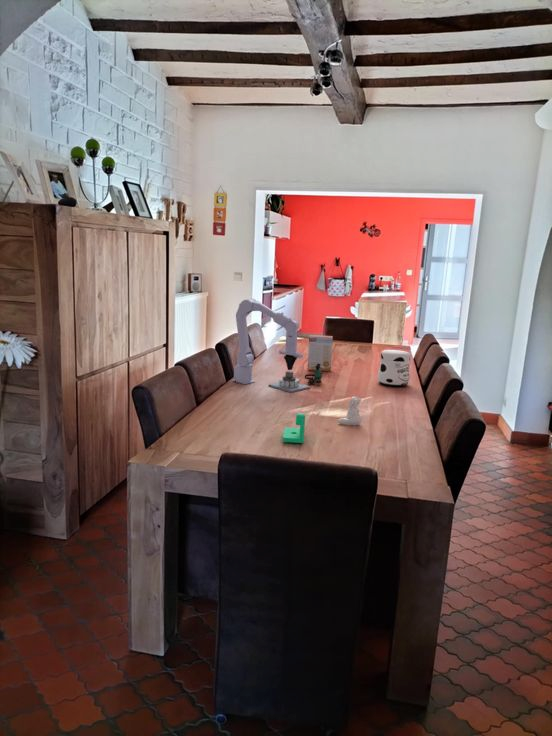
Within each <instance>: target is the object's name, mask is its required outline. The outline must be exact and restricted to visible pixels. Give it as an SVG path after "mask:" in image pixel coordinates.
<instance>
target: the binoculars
mask: <svg viewBox="0 0 552 736" xmlns="http://www.w3.org/2000/svg"><path fill="white" fill-rule="evenodd" d="M315 367H316V370H315V371H314V374H313V373H312V374H311V373H310V374H305V375H304V379H305V380H308V381H307V385H311V384H313V385H314V384H315V385H317V386H321V384H322V383H323V382H322V377H323V375H324V374H323V372H324V371H321V368H320V364H317V366H315ZM322 374H323V375H322Z"/></svg>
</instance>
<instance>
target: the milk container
mask: <svg viewBox="0 0 552 736" xmlns="http://www.w3.org/2000/svg"><path fill="white" fill-rule="evenodd" d="M410 360H411V353H410V352H409V351H405V350H400V349H383V350H381V353H380V364H379V369H378V371H377V380H378V382H379V383H381V384H383V385H386V386H390V387H405V386H406V385H409V382H410V379H411V375H410V364H411V361H410Z"/></svg>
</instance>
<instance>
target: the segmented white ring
mask: <svg viewBox="0 0 552 736" xmlns="http://www.w3.org/2000/svg"><path fill="white" fill-rule="evenodd" d="M295 378H296V377H295ZM278 382H279V385H280V386H281V387H285V388H296V387H298V386H299V384H300V379H299V378H296V380H295V381H285V380H283V377H280V378H279V380H278Z"/></svg>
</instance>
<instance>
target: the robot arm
mask: <svg viewBox="0 0 552 736" xmlns="http://www.w3.org/2000/svg"><path fill="white" fill-rule="evenodd" d="M252 312H260V313H262V314H264V315H266V316H268V317H270V318H272V320H273V322H274V323H276V324H277V325H279V327H282V328H283V329H285V331H286V334H285V347H284V348H285V349H280V350H278V354H279V355H284V356H283V359H284V361H285V363H286V368H287V371H292V370H293V368H294V365H295V362H296V360H297V359H303V355H304V354H303V353H300V352H297V348H298V329H300V328H299V327H300V324H299V322H298V320H297V319H293V318H292V317H288V316H287V315H285V313H284V312H280V311H278V312H276V311H275V310H273V309H271V308H270V307H268V306H267V305H265V304H264V303H262V302H261V301H258V300H256V299H255V298H249V299H248V298H247V299H244V300H242V301H241V302H240V303H239V304H238V309H237V311H236V313H235V320H236V321H235V323H236V327H237V337H238V338H237V339H238V346H239V349H238V351H237V358H236V361H237V364H236V365H235V366H234V369H233V379H232V381H233V382H235V381H236V383H239V384H243V385H247V384H253V383H255V382H256V381H255V380H252V379H253V378H252V377H253V373H252V372H253V364H252V363H253V362H254V360H255V356H254V354H253V352H252V348H251V347H250V342H249V341H250V340H249V339H250V338H249V332H248V331H249V330H248V323H247V322H248V321H247V317H248V316H249V315H250V314H251V313H252Z"/></svg>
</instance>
